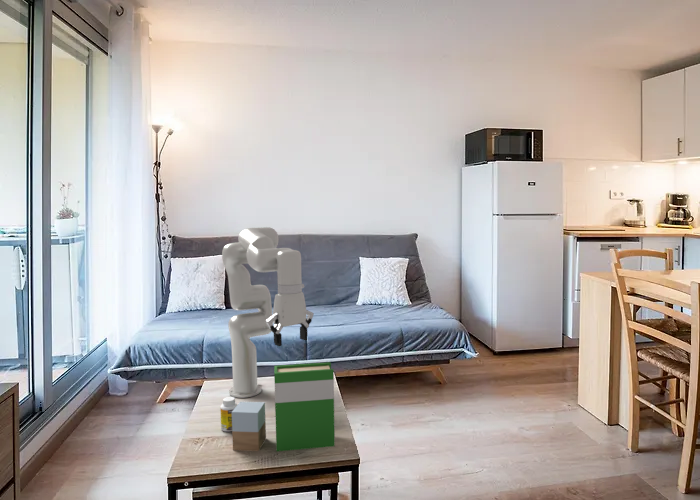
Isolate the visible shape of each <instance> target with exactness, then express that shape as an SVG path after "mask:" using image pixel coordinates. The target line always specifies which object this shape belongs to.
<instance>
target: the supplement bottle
mask: <svg viewBox="0 0 700 500" xmlns="http://www.w3.org/2000/svg"><path fill="white" fill-rule="evenodd" d="M237 405H238V404H237V402H236V397H233V396H226V397H224V398H223V399H222V404H220V429H221V431H223V432H226V433H227V432H228V433H229V432H232V411H233V410H234V409H235V407H236V406H237Z"/></svg>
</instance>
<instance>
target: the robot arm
mask: <svg viewBox="0 0 700 500" xmlns="http://www.w3.org/2000/svg"><path fill="white" fill-rule="evenodd" d="M237 240H238V241H237V242H231V243H228V244H226V245H224V246H223V248H222V253H221V258H222V259H221V260H222V263H223V266H224V268H225V271H226V274H227V279H228V280H227V281H228V289H229V301H230V306H231V308H232V309H233V310H234V311H246V310H255V309H256V310H258V311H255V312H247V313H239V314H235V315H233V316H232V317H230V318H229V321H228V331H229V336H230V343H231V345H230V346H231V362H232V363H231V365H232V387H231V388H230V389H228V394H229V395H230V397H234V398H240V399H241V398H242V399H243V398H244V399H245V398H246V399H247V398H252V397H255V396H257V395H259V394H260V393H261V392H262V386H260V385H259V384H258V363H257V362H258V361H257V360H258V359H257V347H256V344H255V343H254V342H253V341H252V340H251V339H250V338H254V337H260V336H266V335H269V334H271V333H273V343H274V346H278V347H282V333H281V331H282V330H283V328H286V327H290V326H291V327H292V326H296V325H300V326H299V339H300V340H303V341H305V342H306V341H308V329H309V327H310V324H311V323H312V321H313V317H314V312H312V311H311V310H307V305H306V298H305V294H304V292H303V289H304V288H305V284H304V283H303V282H302V254H301V252H300V251H299V250H297V249H292V248H290V247H281V248H278V244H279V234H278V232H277V231H276V230H275V229H274V228H273V227H267V226H266V227H247V228H244V229H243V230H242V231H240V233H239V234H238V239H237ZM245 264H248V265H249V266H250V268H251V269H253V270H254V271H256V272H258V273H271V272H276V273H277V294H274V295H275V296H274V300H273V307H272V297H271V296H272V295H271V292H270V289H269V288H268V287H267V285H264V284H253V285H252V283H251V274H250V272H249V270H248V269H247V268H246V266H245Z"/></svg>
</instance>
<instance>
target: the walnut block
mask: <svg viewBox="0 0 700 500" xmlns="http://www.w3.org/2000/svg"><path fill="white" fill-rule="evenodd" d="M266 430H267V429H266V421H265V422H264V424H263V425H262V427H261V428H260V430H259V432H238V431H231V432H232V433H231V435H232V450H233V451H248V452H249V451H251V452H259V451H260V449H261V448H262V446H263V444H264V443H265V441H266V439H267V431H266Z"/></svg>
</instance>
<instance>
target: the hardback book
mask: <svg viewBox="0 0 700 500" xmlns="http://www.w3.org/2000/svg"><path fill="white" fill-rule="evenodd" d="M273 367H274V368H273V370H274V371H273V372H274V374H273V375H274V405H275V406H274V407H275V408H274V411H275V412H274V413H275V444H276V446H275V447H276V448H275V449H276V450H275V451H276V452H285V451H296V450H297V451H298V450H299V451H300V450H308V449H318V448H330V447H331V448H332V447H335V446H336V444H335V443H336V442H335V441H336V440H335V438H336V437H335V388H334V387H335V386H334V385H335V382H334V381H335V380H334V379H335V378H334V377H335V376H334V374H335V373H334V368H332V363H331V362H330V361H329V362H327V361H326V362H313V363H298V364H297V363H296V364H283V365H282V364H281V365H274V366H273Z"/></svg>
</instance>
